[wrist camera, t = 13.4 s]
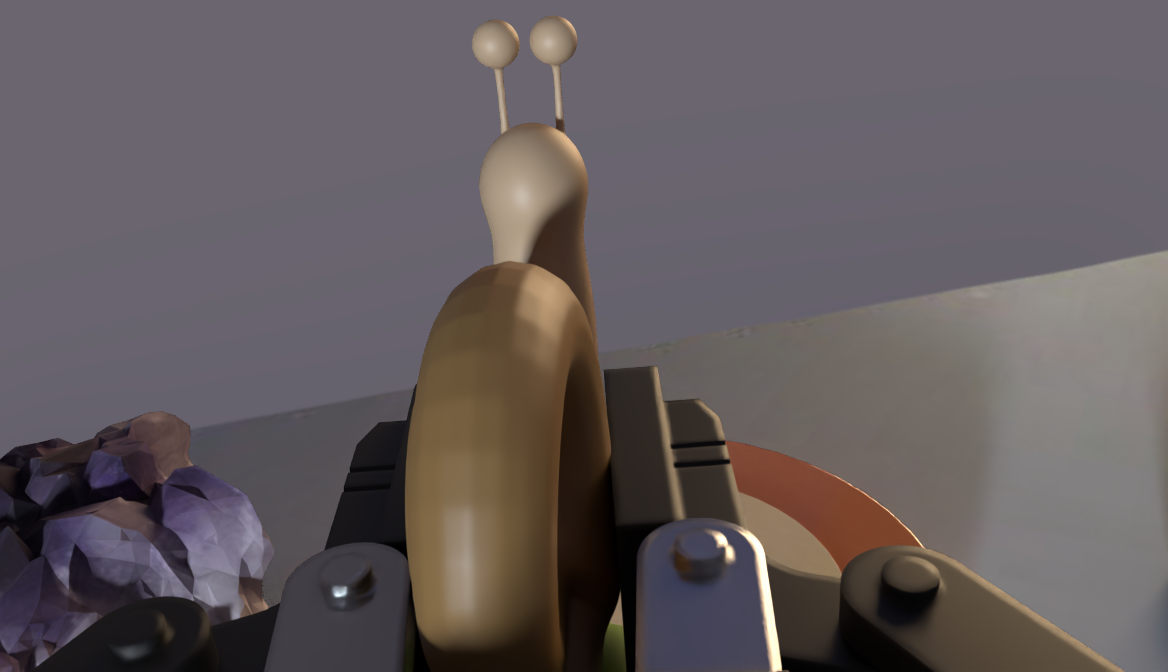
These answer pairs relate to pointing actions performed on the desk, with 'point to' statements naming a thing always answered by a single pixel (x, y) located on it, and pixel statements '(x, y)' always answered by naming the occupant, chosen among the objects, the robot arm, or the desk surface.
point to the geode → (118, 535)
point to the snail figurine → (517, 420)
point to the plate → (806, 514)
